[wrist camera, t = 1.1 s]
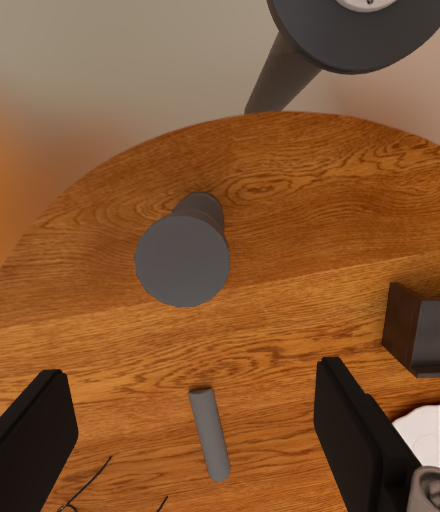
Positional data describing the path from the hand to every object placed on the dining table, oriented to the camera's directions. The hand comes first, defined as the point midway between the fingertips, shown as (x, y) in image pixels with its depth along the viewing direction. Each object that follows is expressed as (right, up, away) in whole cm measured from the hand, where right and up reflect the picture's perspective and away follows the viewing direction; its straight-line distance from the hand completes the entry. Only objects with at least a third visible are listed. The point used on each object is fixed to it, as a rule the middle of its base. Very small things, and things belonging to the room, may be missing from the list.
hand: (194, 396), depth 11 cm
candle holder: (-2, +11, +31) cm, 33 cm away
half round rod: (-1, -26, +41) cm, 48 cm away
